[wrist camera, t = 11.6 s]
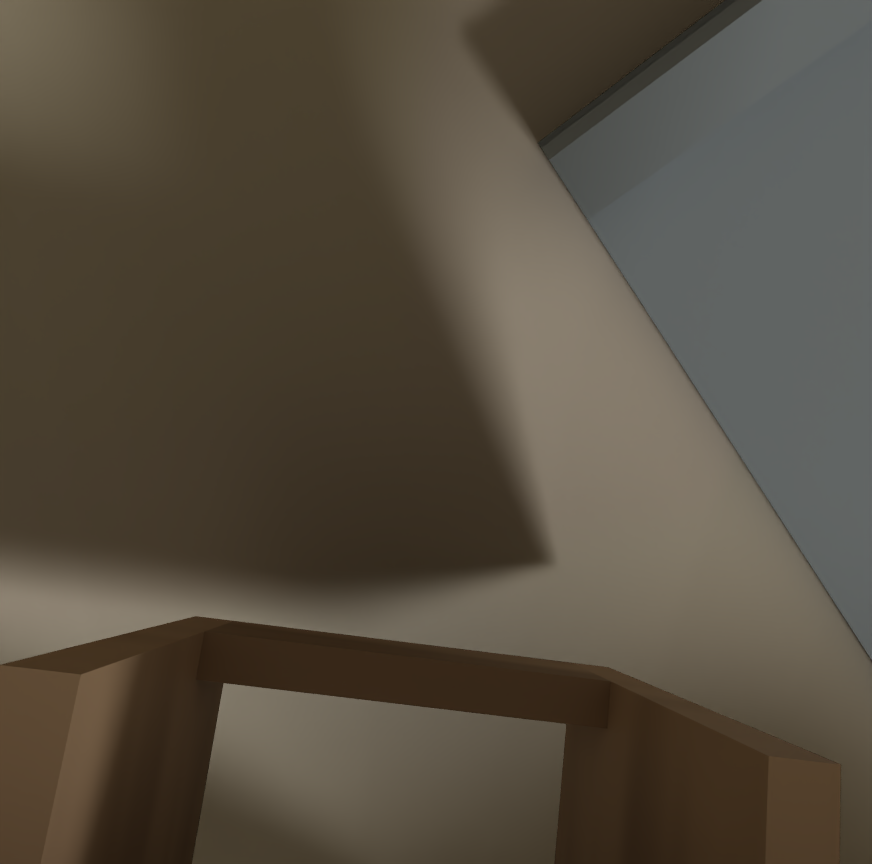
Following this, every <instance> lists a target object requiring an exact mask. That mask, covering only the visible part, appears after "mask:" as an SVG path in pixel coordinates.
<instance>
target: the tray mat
mask: <svg viewBox="0 0 872 864" xmlns="http://www.w3.org/2000/svg"><path fill="white" fill-rule="evenodd" d="M538 144H539V145H540V147H541V148H542V150H543V151H544V153H545V155H546V156H547V158H548V159H549V161H550V162H551V164H552V166H553V167H554V169H555V170H556V172H557V173H558V175H559V176H560V178H561V179H562V181H563V183H564V184H565V186H566V187H567V189H568V190H569V192H570V193H571V195H572V197H573V198H574V200H575V201H576V203H577V204H578V206H579V207H580V209H581V210H582V212H583V214H584V215H585V217H586V218H587V220H588V221H589V223H590V224H591V226H592V227H593V229H594V230H595V232H596V234H597V235H598V237H599V238H600V240H601V241H602V243H603V244H604V246H605V248H606V249H607V251H608V252H609V254H610V255H611V257H612V258H613V260H614V261H615V263H616V265H617V266H618V268H619V269H620V271H621V272H622V274H623V275H624V277H625V279H626V280H627V282H628V283H629V285H630V286H631V288H632V289H633V291H634V292H635V294H636V296H637V297H638V299H639V300H640V302H641V303H642V305H643V306H644V308H645V309H646V311H647V313H648V314H649V316H650V317H651V319H652V320H653V322H654V323H655V325H656V327H657V328H658V330H659V331H660V333H661V334H662V336H663V337H664V339H665V340H666V342H667V344H668V345H669V347H670V348H671V350H672V351H673V353H674V354H675V356H676V358H677V359H678V361H679V362H680V364H681V365H682V367H683V368H684V370H685V371H686V373H687V375H688V376H689V378H690V379H691V381H692V382H693V384H694V385H695V387H696V389H697V390H698V392H699V393H700V395H701V396H702V398H703V399H704V401H705V402H706V404H707V406H708V407H709V409H710V410H711V412H712V413H713V415H714V416H715V418H716V420H717V421H718V423H719V424H720V426H721V427H722V429H723V430H724V432H725V433H726V435H727V437H728V438H729V440H730V441H731V443H732V444H733V446H734V447H735V449H736V451H737V452H738V454H739V455H740V457H741V458H742V460H743V461H744V463H745V464H746V466H747V468H748V469H749V471H750V472H751V474H752V475H753V477H754V478H755V480H756V481H757V483H758V485H759V486H760V488H761V489H762V491H763V492H764V494H765V495H766V497H767V499H768V500H769V502H770V503H771V505H772V506H773V508H774V509H775V511H776V512H777V514H778V516H779V517H780V519H781V520H782V522H783V523H784V525H785V526H786V528H787V530H788V531H789V533H790V534H791V536H792V537H793V539H794V540H795V542H796V543H797V545H798V547H799V548H800V550H801V551H802V553H803V554H804V556H805V557H806V559H807V561H808V562H809V564H810V565H811V567H812V568H813V570H814V571H815V573H816V574H817V576H818V578H819V579H820V581H821V582H822V584H823V585H824V587H825V588H826V590H827V592H828V593H829V595H830V596H831V598H832V599H833V601H834V602H835V604H836V605H837V607H838V609H839V610H840V612H841V613H842V615H843V616H844V618H845V619H846V621H847V623H848V624H849V626H850V627H851V629H852V630H853V632H854V633H855V635H856V636H857V638H858V640H859V641H860V643H861V644H862V646H863V647H864V649H865V650H866V652H867V654H868V655H869V657H870V658H871V660H872V0H725V1H724V2H722V3H721V4H720V5H718V6H717V7H716V8H714V9H713V10H712V11H710V12H709V13H708V14H707V15H705V16H704V17H703V18H701V19H700V20H699V21H697V22H696V23H695V24H693V25H692V26H691V27H689V28H688V29H687V30H686V31H684V32H683V33H682V34H680V35H679V36H678V37H676V38H675V39H674V40H672V41H671V42H670V43H668V44H667V45H666V46H664V47H663V48H662V49H661V50H659V51H658V52H657V53H655V54H654V55H653V56H651V57H650V58H649V59H647V60H646V61H645V62H643V63H642V64H641V65H640V66H638V67H637V68H636V69H634V70H633V71H632V72H630V73H629V74H628V75H626V76H625V77H624V78H622V79H621V80H620V81H618V82H617V83H616V84H615V85H613V86H612V87H611V88H609V89H608V90H607V91H605V92H604V93H603V94H601V95H600V96H599V97H597V98H596V99H595V100H594V101H592V102H591V103H590V104H588V105H587V106H586V107H584V108H583V109H582V110H580V111H579V112H578V113H576V114H575V115H574V116H572V117H571V118H570V119H569V120H567V121H566V122H565V123H563V124H562V125H561V126H559V127H558V128H557V129H555V130H554V131H553V132H551V133H550V134H549V135H548V136H546V137H545V138H544V139H542V140H541V141H540V142H538Z"/></svg>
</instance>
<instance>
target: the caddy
mask: <svg viewBox="0 0 872 864" xmlns="http://www.w3.org/2000/svg"><path fill="white" fill-rule="evenodd" d="M223 683H229V684H237V685H245V686H254V687H262V688H271V689H279V690H287V691H296V692H304V693H313V694H321V695H329V696H338V697H346V698H354V699H363V700H371V701H380V702H388V703H396V704H405V705H413V706H422V707H430V708H438V709H447V710H455V711H464V712H472V713H480V714H489V715H497V716H505V717H514V718H522V719H531V720H539V721H547V722H556V723H564V724H566V736H565V748H564V759H563V771H562V783H561V794H560V806H559V818H558V829H557V841H556V853H555V864H840V802H841V764H838V763H836V762H833V761H831V760H829V759H826V758H824V757H821V756H819V755H817V754H814V753H812V752H809V751H807V750H805V749H802V748H800V747H798V746H795V745H793V744H790V743H788V742H786V741H783V740H781V739H778V738H776V737H774V736H771V735H769V734H766V733H764V732H762V731H759V730H757V729H754V728H752V727H750V726H747V725H745V724H743V723H740V722H738V721H735V720H733V719H731V718H728V717H726V716H723V715H721V714H719V713H716V712H714V711H711V710H709V709H707V708H704V707H702V706H699V705H697V704H695V703H692V702H690V701H688V700H685V699H683V698H680V697H678V696H676V695H673V694H671V693H668V692H666V691H664V690H661V689H659V688H656V687H654V686H652V685H649V684H647V683H644V682H642V681H640V680H637V679H635V678H633V677H630V676H628V675H625V674H623V673H621V672H618V671H616V670H613V669H611V668H609V667H601V666H593V665H585V664H577V663H569V662H561V661H553V660H545V659H537V658H529V657H521V656H513V655H504V654H496V653H488V652H480V651H472V650H464V649H456V648H448V647H440V646H432V645H424V644H416V643H408V642H399V641H391V640H383V639H375V638H367V637H359V636H351V635H343V634H335V633H327V632H319V631H311V630H303V629H294V628H286V627H278V626H270V625H262V624H254V623H246V622H238V621H230V620H222V619H214V618H206V617H198V616H195V617H191V618H187V619H183V620H179V621H175V622H171V623H167V624H163V625H159V626H155V627H151V628H147V629H143V630H139V631H135V632H131V633H126V634H122V635H118V636H114V637H110V638H106V639H102V640H98V641H94V642H90V643H86V644H82V645H78V646H74V647H70V648H66V649H62V650H58V651H54V652H50V653H46V654H42V655H38V656H34V657H30V658H26V659H22V660H18V661H14V662H10V663H6V664H2V665H0V864H192V859H193V853H194V847H195V842H196V836H197V830H198V825H199V819H200V813H201V808H202V802H203V796H204V790H205V785H206V779H207V773H208V768H209V762H210V756H211V751H212V745H213V739H214V733H215V728H216V722H217V716H218V711H219V705H220V699H221V694H222V688H223Z"/></svg>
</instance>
